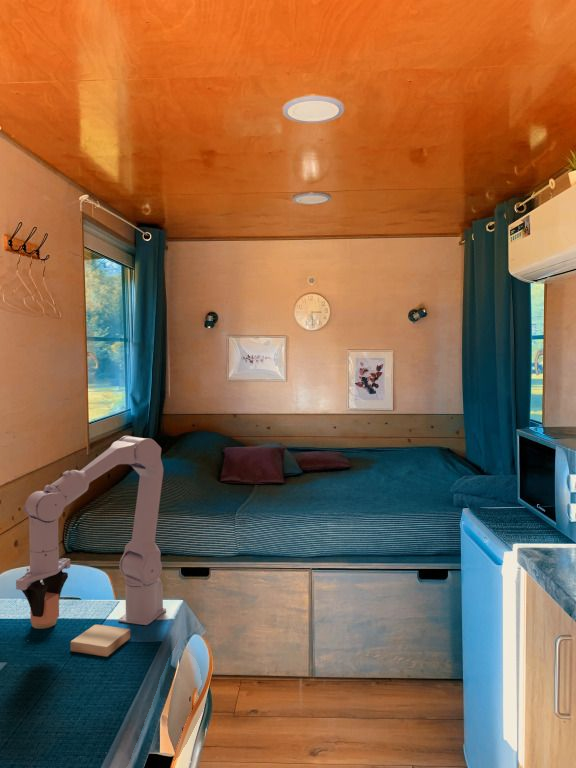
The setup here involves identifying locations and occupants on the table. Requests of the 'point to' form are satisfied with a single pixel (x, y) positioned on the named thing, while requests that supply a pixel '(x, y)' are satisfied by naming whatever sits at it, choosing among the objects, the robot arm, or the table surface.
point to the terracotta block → (48, 609)
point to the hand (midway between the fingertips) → (45, 611)
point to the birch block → (100, 640)
